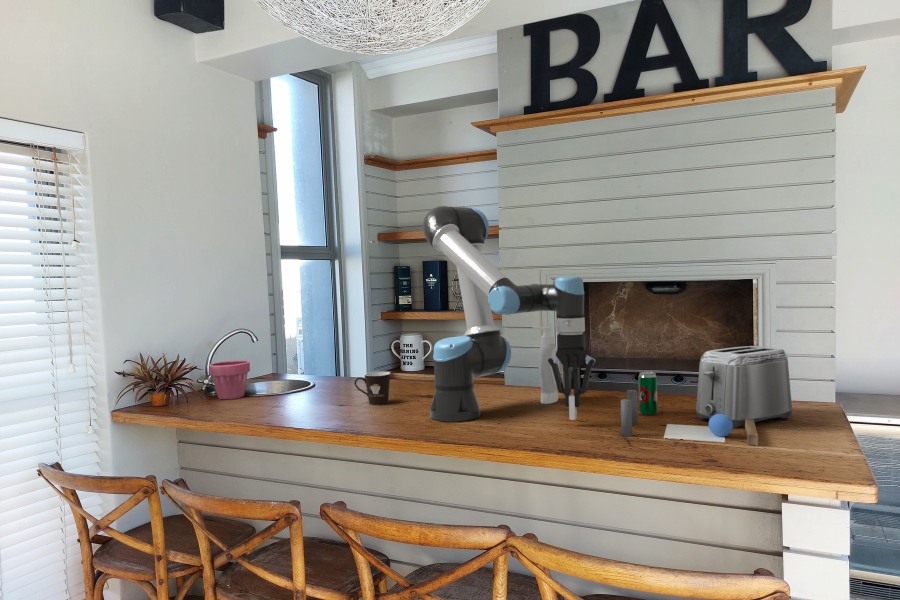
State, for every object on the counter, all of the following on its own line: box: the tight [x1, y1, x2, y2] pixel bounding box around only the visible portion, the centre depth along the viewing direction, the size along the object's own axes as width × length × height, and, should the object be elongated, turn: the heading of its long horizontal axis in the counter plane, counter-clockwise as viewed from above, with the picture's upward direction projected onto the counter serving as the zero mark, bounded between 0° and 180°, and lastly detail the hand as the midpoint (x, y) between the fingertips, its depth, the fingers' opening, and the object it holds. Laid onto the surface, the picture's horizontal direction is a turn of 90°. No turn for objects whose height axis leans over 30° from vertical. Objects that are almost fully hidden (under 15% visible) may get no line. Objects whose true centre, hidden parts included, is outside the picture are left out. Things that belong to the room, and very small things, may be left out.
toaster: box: [695, 345, 793, 429], centre depth 170 cm, size 17×30×19 cm, turn 113°
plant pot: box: [208, 360, 251, 400], centre depth 228 cm, size 14×14×13 cm
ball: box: [708, 414, 734, 437], centre depth 153 cm, size 6×6×6 cm
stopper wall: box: [744, 419, 759, 447], centre depth 152 cm, size 2×16×2 cm, turn 157°
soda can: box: [637, 371, 658, 416], centre depth 179 cm, size 5×5×12 cm
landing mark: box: [663, 423, 726, 444], centre depth 157 cm, size 14×14×1 cm
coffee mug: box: [354, 371, 391, 406], centre depth 208 cm, size 12×9×10 cm
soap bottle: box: [531, 326, 559, 405], centre depth 201 cm, size 13×8×24 cm, turn 151°
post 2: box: [626, 389, 639, 425], centre depth 169 cm, size 3×3×9 cm
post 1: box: [620, 398, 633, 437], centre depth 157 cm, size 3×3×9 cm
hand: (573, 418), depth 169 cm, fingers closed
